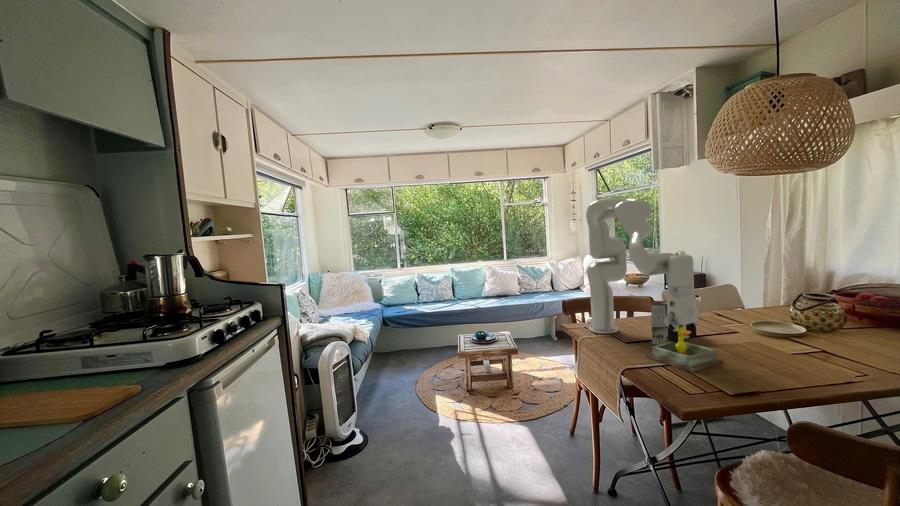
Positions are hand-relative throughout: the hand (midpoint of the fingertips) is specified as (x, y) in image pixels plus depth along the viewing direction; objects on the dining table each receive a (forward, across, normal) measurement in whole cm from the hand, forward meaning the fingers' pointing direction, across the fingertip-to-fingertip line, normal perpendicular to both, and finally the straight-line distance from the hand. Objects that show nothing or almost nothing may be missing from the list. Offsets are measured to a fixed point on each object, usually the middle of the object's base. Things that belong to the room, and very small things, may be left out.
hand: (682, 339), depth 121 cm
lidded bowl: (+7, +23, +16) cm, 29 cm away
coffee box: (+8, +11, +15) cm, 20 cm away
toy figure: (+6, 0, 0) cm, 7 cm away
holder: (+7, 0, 0) cm, 7 cm away
